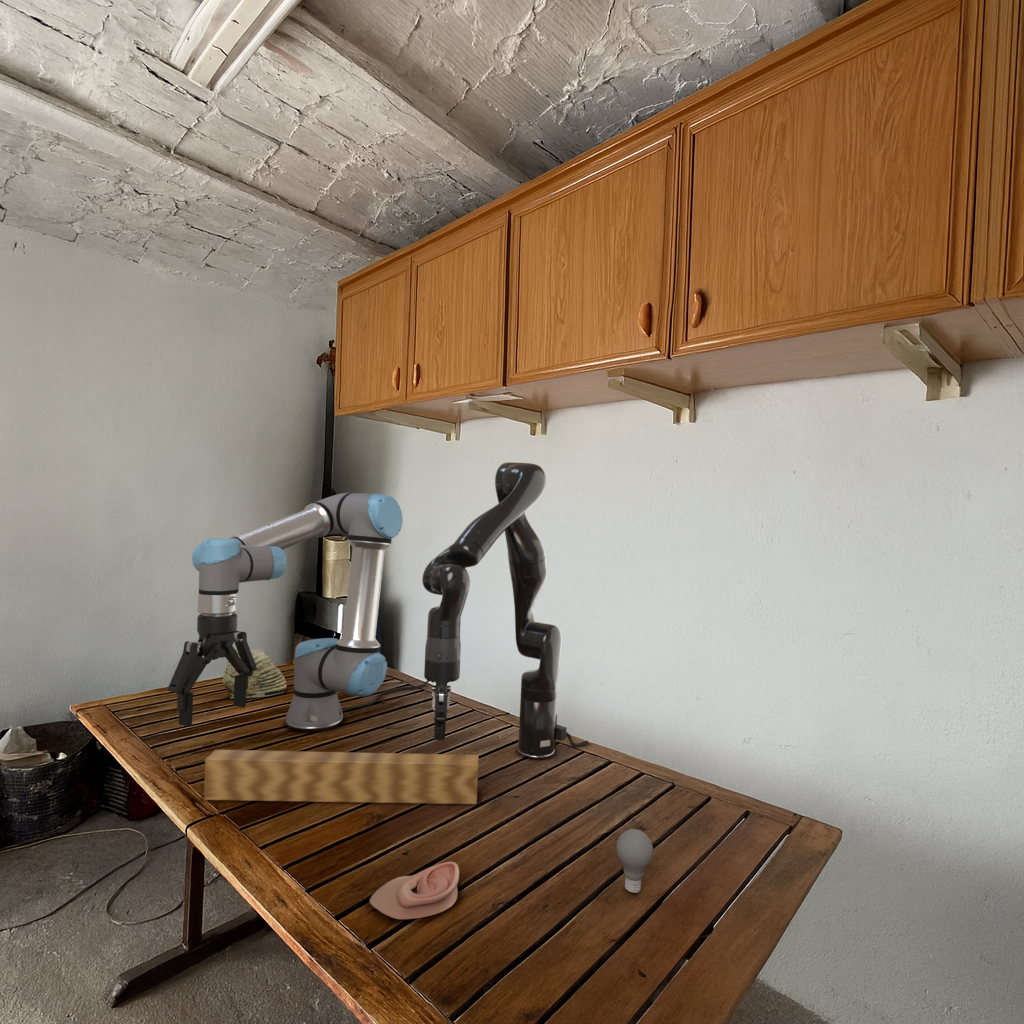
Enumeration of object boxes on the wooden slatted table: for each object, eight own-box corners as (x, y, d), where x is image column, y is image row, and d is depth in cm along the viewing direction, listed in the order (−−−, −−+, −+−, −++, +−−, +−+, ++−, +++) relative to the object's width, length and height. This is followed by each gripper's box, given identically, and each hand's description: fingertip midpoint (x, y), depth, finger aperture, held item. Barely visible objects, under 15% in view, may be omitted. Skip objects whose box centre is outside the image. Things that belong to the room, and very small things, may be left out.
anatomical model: (361, 887, 97) (391, 847, 108) (360, 913, 97) (390, 870, 108) (444, 902, 94) (465, 860, 105) (443, 928, 94) (464, 883, 106)
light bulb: (610, 879, 108) (613, 822, 108) (644, 879, 109) (647, 822, 109) (619, 902, 102) (622, 840, 102) (655, 901, 103) (658, 840, 103)
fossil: (218, 695, 195) (220, 647, 195) (278, 685, 208) (279, 640, 207) (228, 703, 189) (230, 653, 188) (289, 692, 201) (290, 645, 201)
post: (203, 800, 130) (205, 759, 130) (213, 788, 135) (215, 749, 135) (476, 804, 134) (478, 764, 133) (476, 793, 138) (478, 754, 138)
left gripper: (177, 625, 118) (173, 737, 119) (275, 607, 141) (272, 701, 142) (149, 620, 121) (145, 730, 122) (250, 603, 144) (246, 696, 144)
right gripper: (461, 665, 128) (458, 745, 128) (459, 648, 142) (456, 720, 142) (423, 664, 127) (420, 745, 127) (425, 648, 141) (422, 720, 142)
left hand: (213, 715), depth 132 cm, fingers open, 13 cm apart
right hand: (439, 731), depth 135 cm, fingers open, 8 cm apart
